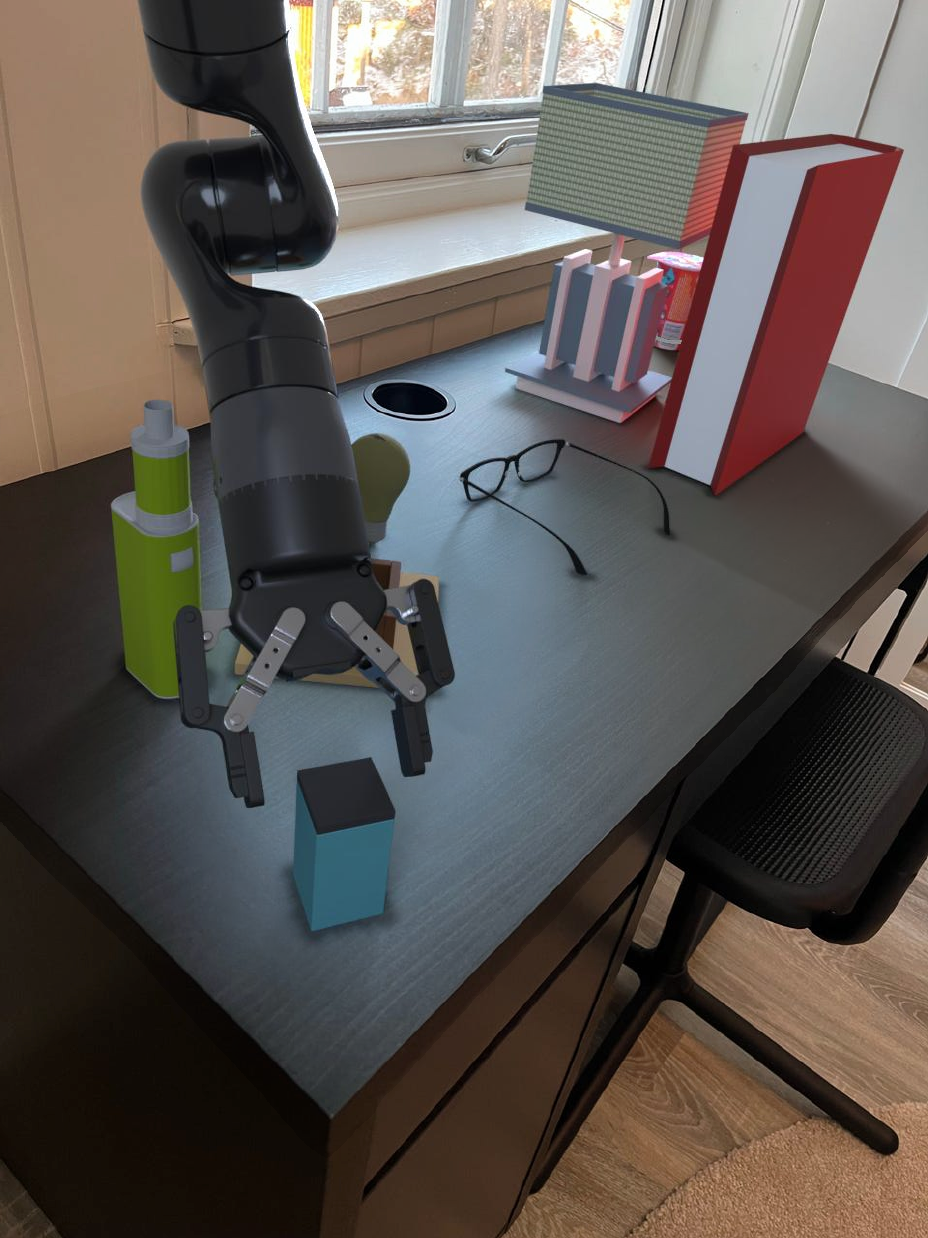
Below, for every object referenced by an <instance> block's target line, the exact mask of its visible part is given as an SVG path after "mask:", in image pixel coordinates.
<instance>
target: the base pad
mask: <svg viewBox="0 0 928 1238" xmlns="http://www.w3.org/2000/svg"><path fill="white" fill-rule="evenodd" d="M371 561H372V569H373V574H374V577H375V579H376V581H377V582H378V584H379V585H380V587H381V588H382V589H383V590H387V589H392V588H398V587H403V586H409V585H411V584H412V583H414V582H416V581H418V580H420V579H427V580H429V581H431V582H432V584H433V585H434V588H435V593H436V597H437V601H438V602H439V590H440V589H439V588H440V587H439V586H440V576H438V575H431V574H421V573H411V572H403V571H402V561H400V560H399V561H398V560H389V559H380V558H371ZM376 633H377V634H378V635H379V636H380V637H381V638H382V639H383V640H384V641H385V642H386V643H387V644H388V645H389V646H390V647H391V648H392V649H393V650H394V651H395V652H396V653H397V654H398V655H399V657H400V660H401V662H402V663H403V664H404V665H405V666H406V667H407V668H408V669H409V670H410V671H411V672H412V673H413V674H414V675H415V676H416V675H418V670H417V666H416V661H415V657H414V653H413V649H412V644H411V640H410V636H409V632H408V627H407V625H402V624H400V623H399V622H398V621H397V619H396V617H395V615H394V613H393V612H392V611H390V610H388V609H386V611H385V613H384V615H383V618H382V620H381V622H380V624H379V626H378V628H377V630H376ZM376 652H378V651H377V649H376ZM252 658H253V655H252V654H251V653H250V652H249V651H248V650H247V649H246V648H245V647H244V646H243V645H242V644H241V643H240V645H239V648H238V651H237V655H236V658H235V661H234V674H235V675H239V676H243V674H244V672H245V670H246V669H247V667H248V665H249V663H250V661H251V660H252ZM362 659H363V658H362ZM274 679H279V678H278V677H276V676H275V678H274ZM299 681H302V682H310V683H311V682H313V683H322V684H323V683H324V684H333V685H343V686H353V687H354V686H355V687H363V688H364V687H366V688H375V689H376V688H377V689H380V688H379V687H378V686H377V685H376V684H375V683H374V682H372V681H370V680H368V679H367V678H366V677H364V676H363V675H362V674H361V673H360V672H359V671H358V670H357V669H356V668H355V667H353V668H352V669H350V670H348V671H346V672H344V673H340V674H334V675H323V674H312V675H310V676H307V677H305V678H303V679H300V680H299Z"/></svg>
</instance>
